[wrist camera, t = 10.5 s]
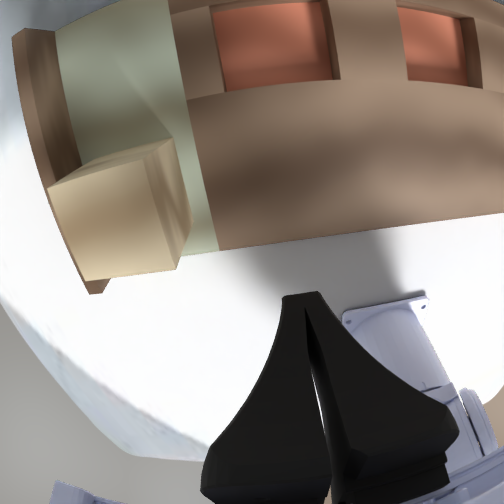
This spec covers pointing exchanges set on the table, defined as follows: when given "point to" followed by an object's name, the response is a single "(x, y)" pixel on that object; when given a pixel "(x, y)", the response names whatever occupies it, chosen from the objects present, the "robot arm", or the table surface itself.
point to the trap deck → (280, 109)
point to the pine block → (125, 212)
